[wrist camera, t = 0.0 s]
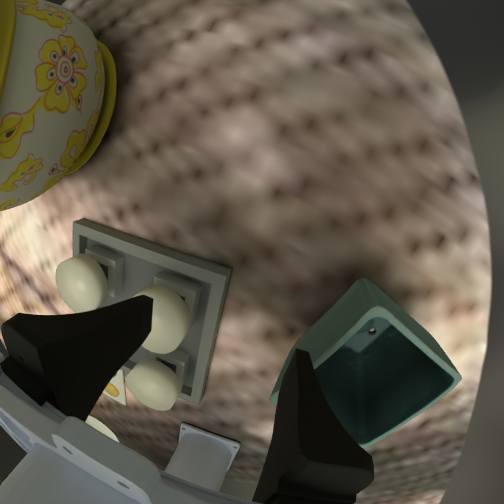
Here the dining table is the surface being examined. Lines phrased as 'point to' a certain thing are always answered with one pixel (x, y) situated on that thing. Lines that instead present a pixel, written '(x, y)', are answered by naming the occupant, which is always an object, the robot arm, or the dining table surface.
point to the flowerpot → (49, 97)
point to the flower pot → (374, 363)
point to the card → (117, 388)
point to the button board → (168, 275)
